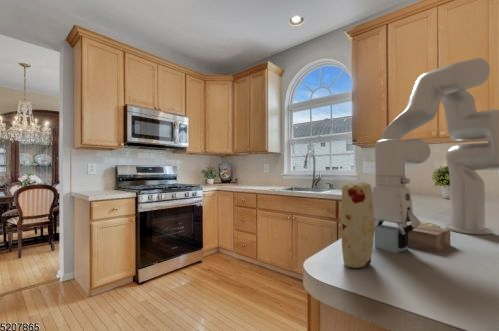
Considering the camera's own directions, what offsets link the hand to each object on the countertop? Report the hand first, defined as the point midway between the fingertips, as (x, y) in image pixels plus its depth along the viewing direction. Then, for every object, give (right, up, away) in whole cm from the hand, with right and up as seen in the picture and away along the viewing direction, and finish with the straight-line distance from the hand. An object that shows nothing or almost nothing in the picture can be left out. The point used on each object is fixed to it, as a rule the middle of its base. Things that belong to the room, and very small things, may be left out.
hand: (390, 243), depth 71 cm
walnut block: (+12, -2, +3) cm, 12 cm away
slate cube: (0, -1, 0) cm, 1 cm away
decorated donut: (+20, -2, +15) cm, 25 cm away
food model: (-15, -1, -12) cm, 19 cm away
